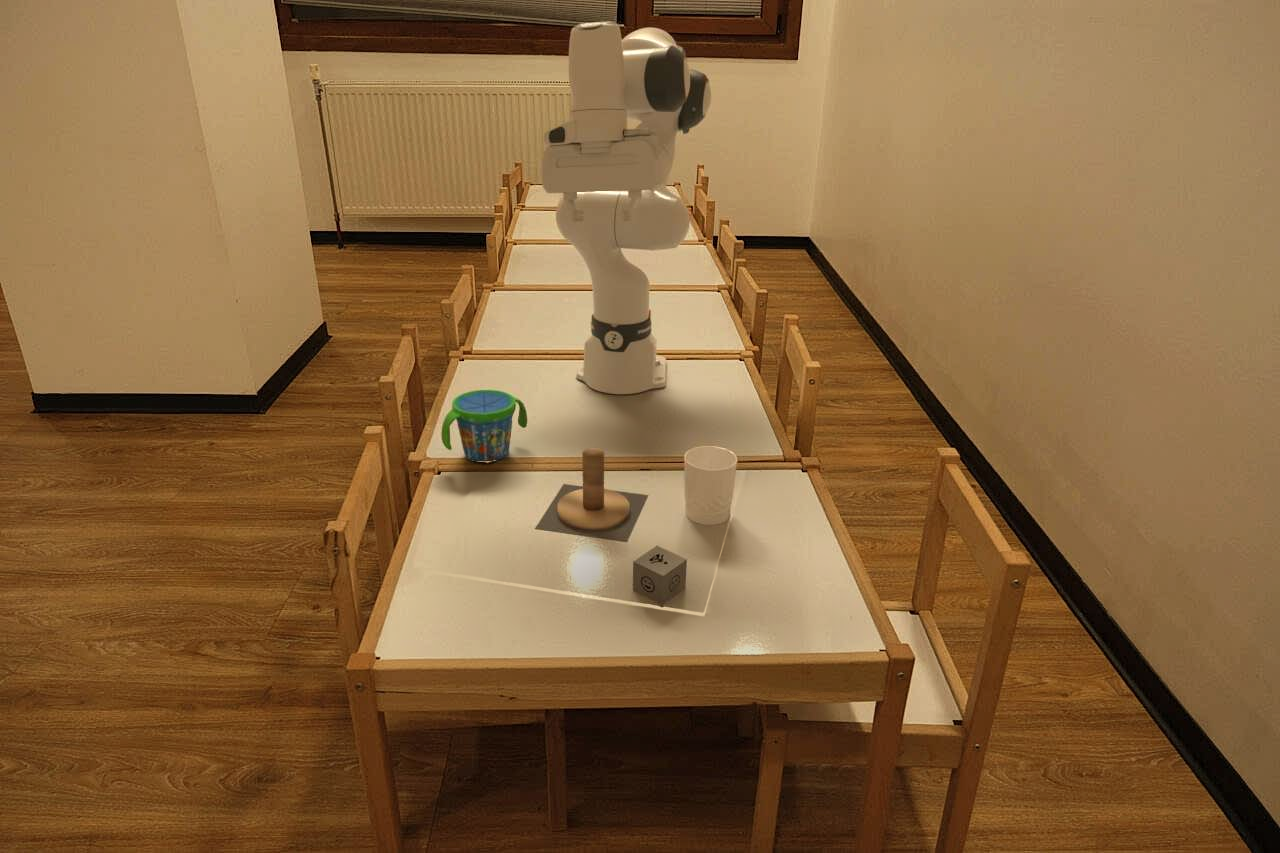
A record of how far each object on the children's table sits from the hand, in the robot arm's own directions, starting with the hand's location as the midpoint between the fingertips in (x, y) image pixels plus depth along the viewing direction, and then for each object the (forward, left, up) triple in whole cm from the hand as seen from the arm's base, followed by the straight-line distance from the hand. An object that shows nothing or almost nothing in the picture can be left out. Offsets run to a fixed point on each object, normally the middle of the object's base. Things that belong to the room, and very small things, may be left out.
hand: (603, 221), depth 145 cm
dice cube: (+43, +20, -39) cm, 61 cm away
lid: (+26, +6, -38) cm, 47 cm away
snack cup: (+12, -17, -39) cm, 44 cm away
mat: (+26, +6, -39) cm, 47 cm away
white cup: (+22, +23, -39) cm, 50 cm away
